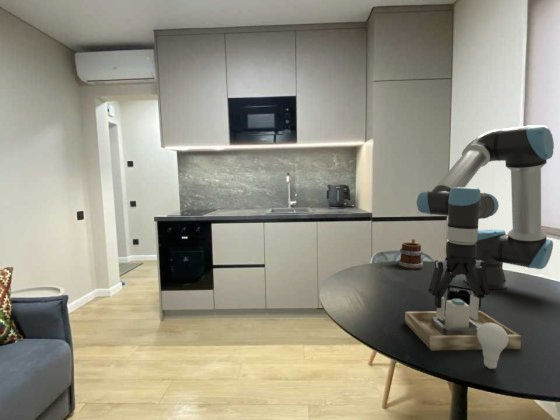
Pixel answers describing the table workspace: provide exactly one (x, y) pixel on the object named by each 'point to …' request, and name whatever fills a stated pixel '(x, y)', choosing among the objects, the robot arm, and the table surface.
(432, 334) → the birch box
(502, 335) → the lightbulb
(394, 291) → the table surface
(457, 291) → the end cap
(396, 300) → the table surface
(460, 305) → the white block teal patch
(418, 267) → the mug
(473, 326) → the grey rectangular frame
